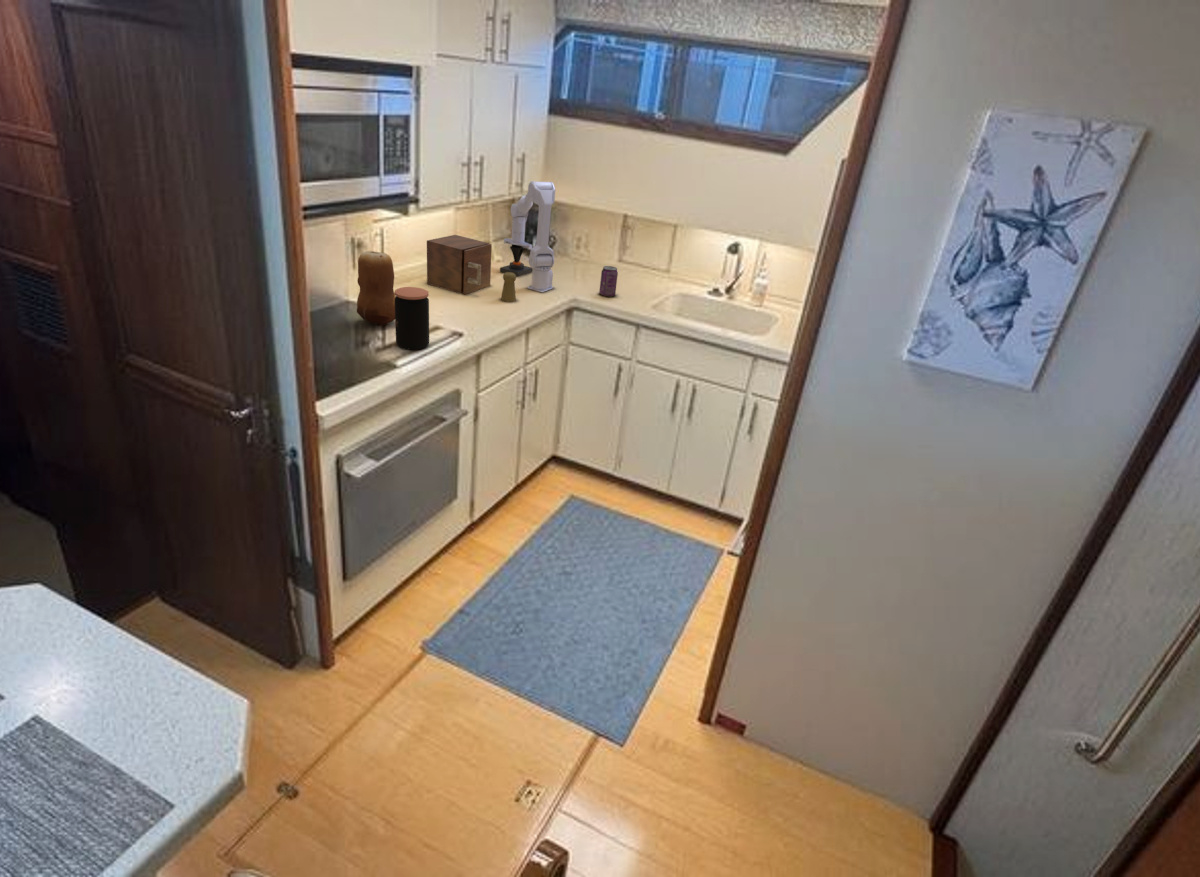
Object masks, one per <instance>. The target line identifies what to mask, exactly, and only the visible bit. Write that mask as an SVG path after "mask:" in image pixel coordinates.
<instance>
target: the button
mask: <svg viewBox="0 0 1200 877" xmlns="http://www.w3.org/2000/svg"><path fill="white" fill-rule="evenodd" d="M512 262H513V264H514V265H521V263H522V261H521V260H520V261H519V262H514V260H513V261H512Z"/></svg>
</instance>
